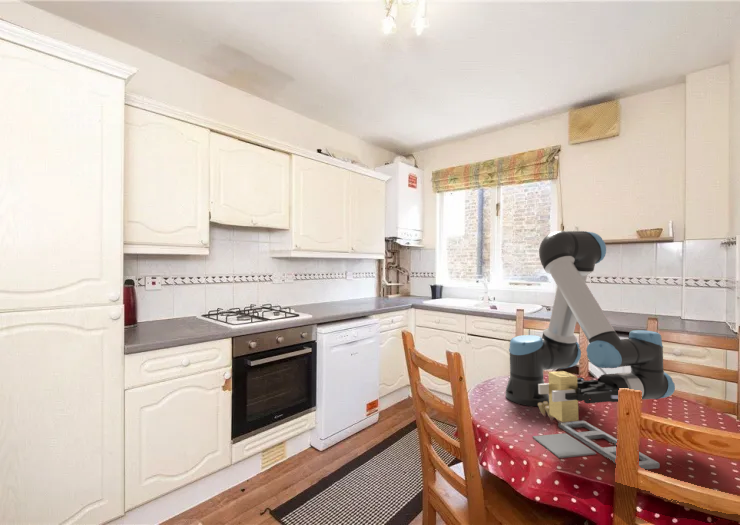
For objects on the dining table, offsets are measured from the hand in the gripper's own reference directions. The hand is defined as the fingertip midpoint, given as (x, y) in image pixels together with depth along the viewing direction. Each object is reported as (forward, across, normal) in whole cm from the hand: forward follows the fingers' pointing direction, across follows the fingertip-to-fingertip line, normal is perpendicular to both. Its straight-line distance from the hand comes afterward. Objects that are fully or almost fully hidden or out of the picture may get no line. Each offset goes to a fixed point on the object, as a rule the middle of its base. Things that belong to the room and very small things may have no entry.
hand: (546, 392), depth 94 cm
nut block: (-5, 0, -7) cm, 9 cm away
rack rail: (-16, -1, -15) cm, 22 cm away
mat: (-5, +1, -15) cm, 16 cm away
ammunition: (-15, +17, -16) cm, 27 cm away
